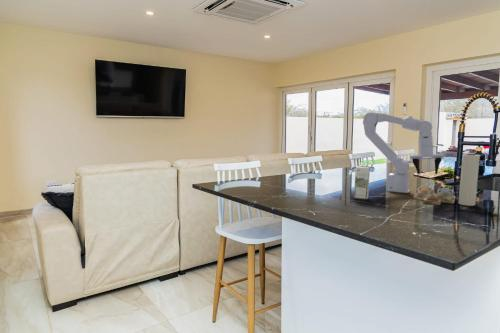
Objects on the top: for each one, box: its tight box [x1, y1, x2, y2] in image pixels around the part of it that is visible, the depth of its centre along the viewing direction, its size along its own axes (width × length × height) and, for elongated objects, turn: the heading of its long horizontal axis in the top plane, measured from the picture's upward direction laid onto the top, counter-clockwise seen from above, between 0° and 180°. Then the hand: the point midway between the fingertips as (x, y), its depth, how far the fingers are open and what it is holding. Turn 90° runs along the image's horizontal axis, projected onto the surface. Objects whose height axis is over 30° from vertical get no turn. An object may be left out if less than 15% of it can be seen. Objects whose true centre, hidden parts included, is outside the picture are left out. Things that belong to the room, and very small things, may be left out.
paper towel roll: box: [458, 153, 481, 207], centre depth 144 cm, size 7×6×21 cm
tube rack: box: [412, 186, 457, 204], centre depth 157 cm, size 16×13×4 cm
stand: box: [422, 197, 442, 206], centre depth 148 cm, size 6×6×2 cm
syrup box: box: [353, 165, 371, 200], centre depth 156 cm, size 6×6×14 cm
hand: (427, 173), depth 167 cm, fingers open, 7 cm apart
